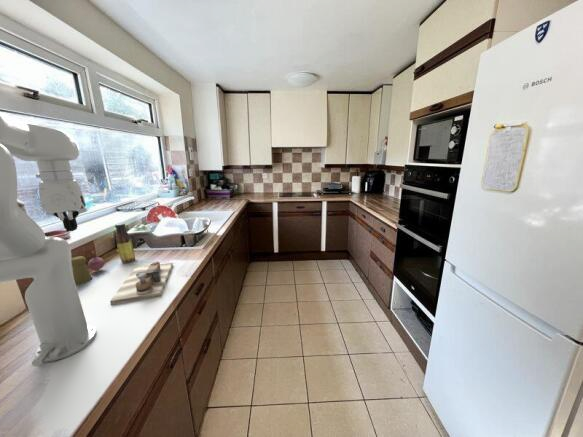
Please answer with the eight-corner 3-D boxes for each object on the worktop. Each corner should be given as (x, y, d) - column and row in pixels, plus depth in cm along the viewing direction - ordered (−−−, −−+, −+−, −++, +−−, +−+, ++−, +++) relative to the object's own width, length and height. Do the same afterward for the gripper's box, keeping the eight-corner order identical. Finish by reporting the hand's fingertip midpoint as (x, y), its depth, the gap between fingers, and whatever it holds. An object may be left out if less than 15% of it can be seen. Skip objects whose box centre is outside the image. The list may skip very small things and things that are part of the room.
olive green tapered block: (81, 284, 98) (74, 260, 96) (70, 283, 100) (63, 259, 97) (95, 277, 104) (89, 254, 101) (84, 276, 105) (78, 254, 102)
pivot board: (160, 296, 89) (157, 281, 87) (110, 304, 84) (107, 289, 83) (172, 265, 115) (170, 253, 113) (135, 270, 110) (132, 258, 108)
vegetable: (105, 266, 115) (100, 247, 112) (107, 270, 111) (102, 251, 108) (89, 271, 111) (84, 251, 108) (90, 275, 106) (85, 255, 104)
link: (149, 290, 88) (147, 277, 87) (134, 292, 87) (131, 279, 86) (162, 266, 109) (161, 255, 107) (150, 267, 107) (148, 256, 106)
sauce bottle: (138, 260, 122) (130, 223, 117) (124, 264, 117) (116, 226, 112) (131, 257, 125) (124, 221, 120) (118, 261, 120) (110, 224, 115)
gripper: (19, 178, 71) (37, 236, 76) (79, 176, 75) (92, 231, 80) (36, 177, 78) (52, 229, 83) (90, 175, 82) (102, 225, 87)
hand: (71, 230), depth 81 cm, fingers closed
